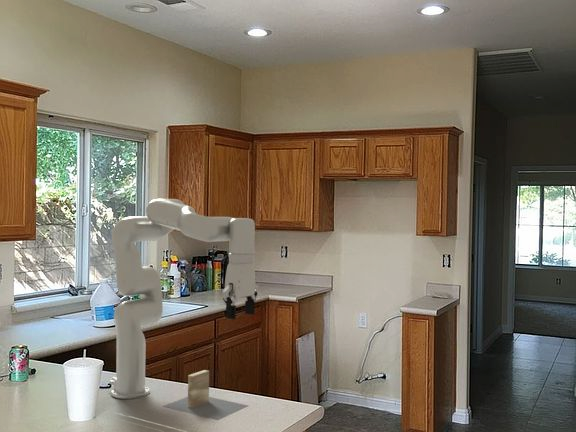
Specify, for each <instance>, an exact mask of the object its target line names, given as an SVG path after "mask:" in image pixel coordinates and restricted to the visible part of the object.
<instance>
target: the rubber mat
mask: <svg viewBox="0 0 576 432" xmlns="http://www.w3.org/2000/svg"><path fill="white" fill-rule="evenodd" d="M162 407H164V408H168V409H172V410H176V411H179V412H184V413H189V414H192V415H196V416H200V417H205V418H208V419H213V420H215V421H218V420H221V419H223V418H226V417H228V416H230V415H233V414H234V413H236V412H239V411H241V410H242V409H246V408H247V407H249V405H248V404H247V405H246V404H243V403H239V402H234V401H230V400H225V399H221V398H217V397H212V396H209V402H207V403H204V404H202V405H199V406H197V407H194V408H190V407H188V396H186V397H182V398H180V399H177V400H176V401H172V402H170V403H167V404H165V405H163V406H162Z"/></svg>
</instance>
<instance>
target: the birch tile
mask: <svg viewBox="0 0 576 432" xmlns="http://www.w3.org/2000/svg"><path fill="white" fill-rule="evenodd" d="M187 380H188V381H187V397H188V407H190V408H194V407H197V406H199V405H202V404H204V403H207V402H209V397H210V370H207V369H203V370H200V371H197V372H193V373H191V374H188V376H187Z"/></svg>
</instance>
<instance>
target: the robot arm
mask: <svg viewBox="0 0 576 432" xmlns="http://www.w3.org/2000/svg"><path fill="white" fill-rule="evenodd" d="M145 215H146V216H141V215H140V216H138V215H136V216H127V217H124V218H121V219H120V220H118V221H117V222H116V224H115V225H114V226H113V229H112V232H111V233H112V235H111V240H112V246H113V251H114V257H115V260H114V261H115V275H116V276H115V278H116V279H115V280H116V289H117V291H118V293H119V295H121V296H123V297H133V296H134V297H136V296H139V298H136V299H129V300H124V301H123V302H121V303H119V304H118V305H117V306H116V307H115V309H114V312H113V320H114V326H115V334H116V335H115V336H116V371H115V373H116V374H115V377H114V376H113V377H112V379H110V380H109V382H108V383H109V384H110V385H113V388H112V390H111V391H110V394H111V396H112V397H113V398H116V399H122V400H129V399H130V400H131V399H133V400H134V399H139V398H140V399H141V398H143V397H147V396H148V395H149V394H150V391H151V390H150V388H149V387H148V386H146V351H147V350H146V346H147V345H146V343H147V341H146V338H145V334H144V333H143V331H142V328H143V327H147V326H151V325H154V324H157V323H159V322H160V320H161V318H162V316H163V311H164V310H163V308H164V307H163V296H162V295H163V293H162V291H163V289H162V280H161V276H160V273H159V272H158V271H157V269H155V268H154V267H152V266H146V265H145V266H143V265H142V254H141V251H140V249H139V247H138V245H137V244H136V243H138V242H139V243H140V242H156V241H159V240H162V239H163V238H165V237H166V236H167V235H169V234H170V233H171V232H174V230H175V231H179V232H181V234H183V235H184V236H185V237H188V238H190V239H195V240H198V241H202V242H206V243H215V242H228V241H229V243H228V245H229V246H228V251H229V252H228V264H227V267H226V271H225V279H224V289H223V290H222V291H221V294H222V298H223V299H222V300H223V301H224V305H225V318H226V319H230V320H236V317H237V305H235V304H236V302H237V300H238V299H243V298H246V299H245V301H244V303H245V304H244V306H245V307H244V314H246V315H251V316H254V315H255V312H256V309H255V308H256V307H255V306H256V301H257V296H258V291H259V288H260V287H259V286H260V285H258V284H257V283H256V270H255V232H256V230H255V229H256V226H255V224H256V223H255V221H254V219H252V218H247V217H231V216H207V215H201V214H199V213H197V212H196V211H195V208H193V206H190V205H187V204H185V203H184V202H183V201H182V200H181V199H176V198H157V199H152V200H151V201H150V202H148V204H147V206H146V208H145Z"/></svg>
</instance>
